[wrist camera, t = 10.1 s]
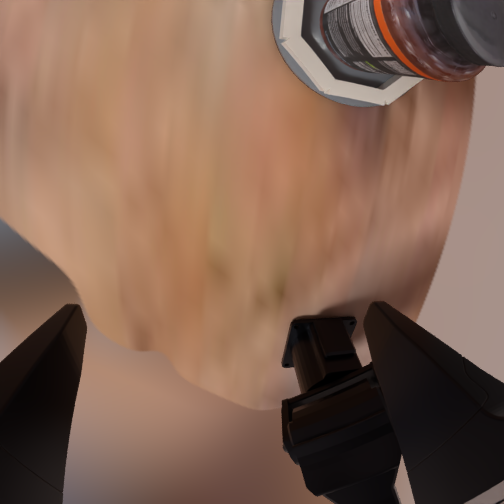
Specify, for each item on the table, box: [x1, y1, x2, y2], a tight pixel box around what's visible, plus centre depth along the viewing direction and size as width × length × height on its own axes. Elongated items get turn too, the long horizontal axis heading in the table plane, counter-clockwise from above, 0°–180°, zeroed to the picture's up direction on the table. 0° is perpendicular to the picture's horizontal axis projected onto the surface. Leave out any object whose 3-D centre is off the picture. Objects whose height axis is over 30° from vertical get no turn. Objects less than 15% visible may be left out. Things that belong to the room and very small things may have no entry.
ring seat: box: [271, 0, 424, 107], centre depth 15 cm, size 11×11×2 cm
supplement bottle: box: [319, 0, 504, 82], centre depth 10 cm, size 6×6×11 cm
